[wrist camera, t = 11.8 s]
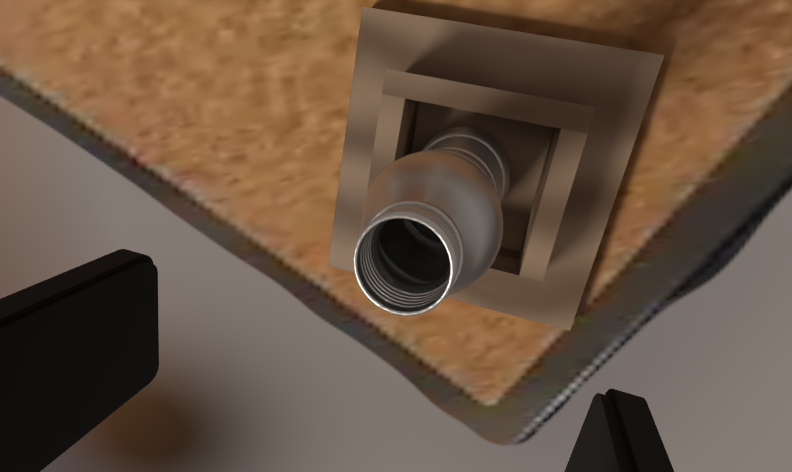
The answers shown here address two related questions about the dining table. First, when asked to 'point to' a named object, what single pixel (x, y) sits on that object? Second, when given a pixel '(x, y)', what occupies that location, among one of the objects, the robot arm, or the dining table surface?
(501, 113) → the bottle stand
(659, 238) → the dining table surface
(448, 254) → the plastic bottle
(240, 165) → the dining table surface
